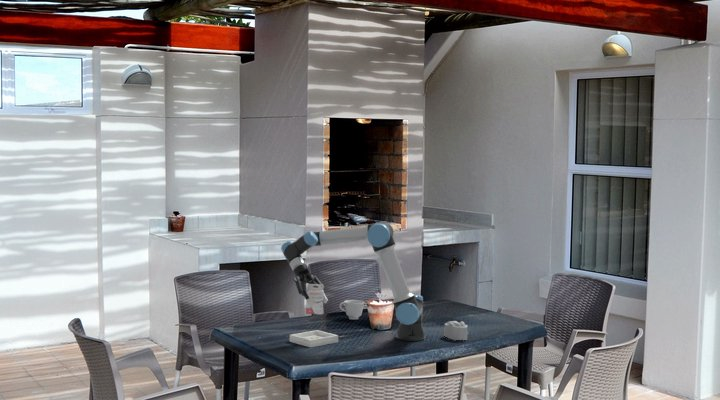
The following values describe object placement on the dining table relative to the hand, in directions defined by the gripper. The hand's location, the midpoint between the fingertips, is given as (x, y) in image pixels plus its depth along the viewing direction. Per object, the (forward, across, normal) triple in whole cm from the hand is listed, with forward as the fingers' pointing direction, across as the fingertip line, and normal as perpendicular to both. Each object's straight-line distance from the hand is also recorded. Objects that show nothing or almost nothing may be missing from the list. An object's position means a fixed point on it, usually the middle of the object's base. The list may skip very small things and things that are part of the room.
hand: (319, 302), depth 454 cm
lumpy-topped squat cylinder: (+40, -67, +11) cm, 79 cm away
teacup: (-9, -57, -39) cm, 70 cm away
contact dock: (+12, 0, -17) cm, 21 cm away
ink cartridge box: (+2, 0, -7) cm, 7 cm away
